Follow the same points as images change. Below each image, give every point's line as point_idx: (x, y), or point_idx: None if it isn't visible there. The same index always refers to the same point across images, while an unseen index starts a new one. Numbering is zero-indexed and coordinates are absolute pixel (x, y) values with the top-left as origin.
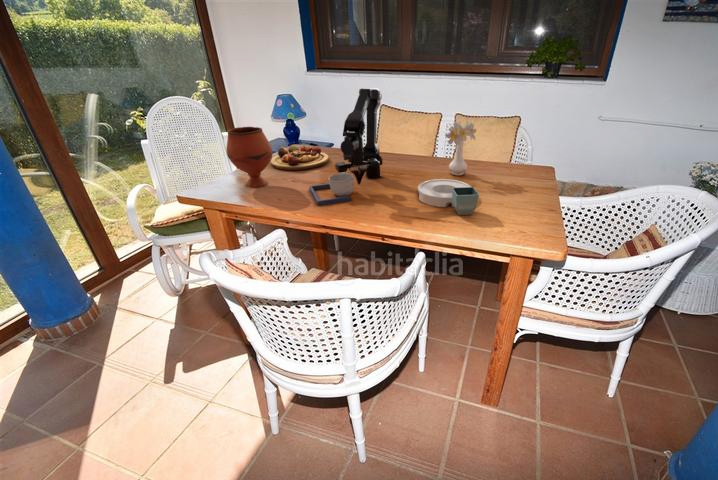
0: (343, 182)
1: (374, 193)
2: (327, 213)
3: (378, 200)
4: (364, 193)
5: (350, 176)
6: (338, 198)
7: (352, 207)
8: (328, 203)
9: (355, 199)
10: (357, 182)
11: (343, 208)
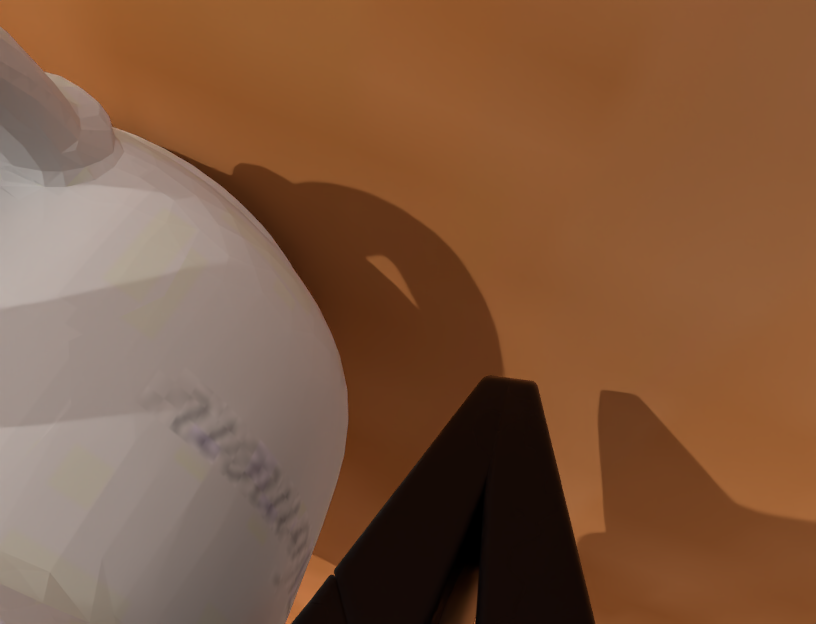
0: None
1: (791, 472)
2: None
3: (669, 615)
4: (591, 395)
5: (128, 612)
6: None
7: (308, 575)
8: None
9: (365, 482)
10: (460, 410)
11: None
